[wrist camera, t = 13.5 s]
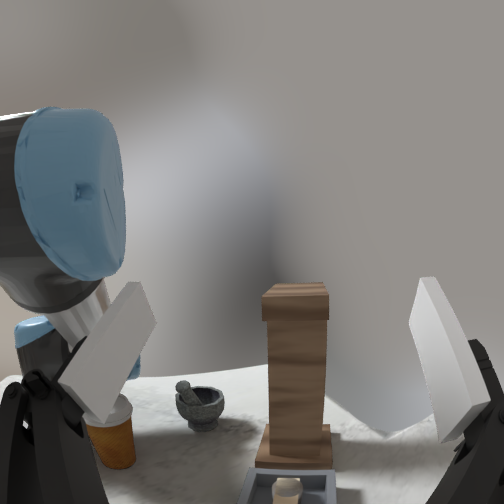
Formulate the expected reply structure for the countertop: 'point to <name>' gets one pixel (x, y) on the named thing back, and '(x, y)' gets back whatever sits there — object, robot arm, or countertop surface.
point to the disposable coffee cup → (114, 435)
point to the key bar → (287, 491)
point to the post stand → (296, 378)
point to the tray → (314, 481)
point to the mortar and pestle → (199, 405)
